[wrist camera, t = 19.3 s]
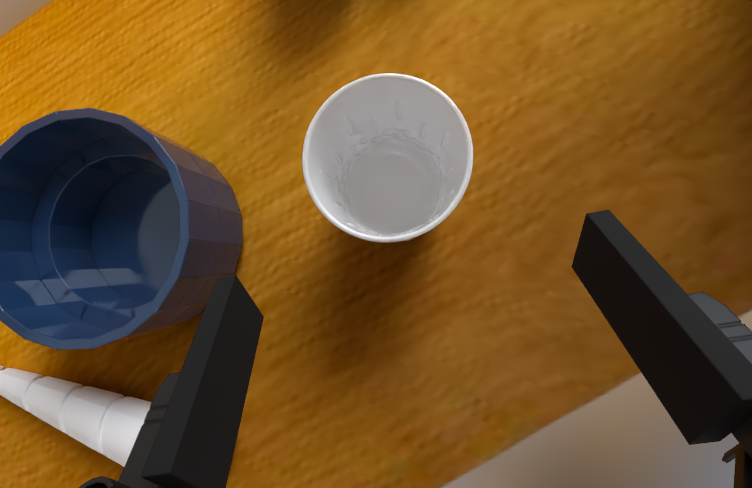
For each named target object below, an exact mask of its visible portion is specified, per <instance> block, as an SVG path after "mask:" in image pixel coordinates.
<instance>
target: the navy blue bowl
mask: <svg viewBox="0 0 752 488" xmlns="http://www.w3.org/2000/svg"><path fill="white" fill-rule="evenodd" d="M241 247H242V217H241V213H240V210H239V207H238V204H237V201H236V199H235V196H234V193H233V190H232V188H231V186H230V185H229V184H228V182H227V181H226V180H225V178H224V177H223V176H222V174H221V173H220V172H219V171H218V169H217V168H216V167H215V166H214V165H213V164H212V163H210V162H209V161H207V160H206V159H204V158H203V157H201V156H200V155H198V154H197V153H195V152H194V151H192V150H190V149H188V148H186V147H184V146H182V145H180V144H178V143H176V142H175V141H173V140H171V139H169V138H167V137H165V136H163V135H161V134H159V133H157V132H155V131H153V130H151V129H149V128H147V127H145V126H143V125H141V124H139V123H137V122H135V121H133V120H131V119H129V118H127V117H125V116H122V115H118V114H114V113H110V112H106V111H102V110H97V109H93V108H85V109H75V110H65V111H57V112H53V113H51V114H49V115H46V116H44V117H42V118H40V119H37V120H35V121H33V122H31V123H28V124H26V125H24V126H23V127H21V128H20V129H19V130H18V131H17V132H16V133H15V134H14V135H12V136H11V137H10V138H9V139H8V140H7V141H6V142H4V143H3V144H2V145H1V146H0V321H2V322H3V323H4V324H5V325H7V326H8V327H9V328H11V329H12V330H13V331H15V332H16V333H17V334H18V335H20V336H21V337H22V338H24V339H26V340H29V341H32V342H35V343H38V344H41V345H44V346H47V347H50V348H53V349H56V350H73V349H95V348H99V347H102V346H106V345H109V344H113V343H116V342H120V341H123V340H127V339H130V338H134V337H137V336H141V335H144V334H148V333H151V332H155V331H158V330H162V329H165V328H169V327H172V326H174V325H177V324H179V323H182V322H184V321H187V320H190V319H192V318H194V317H196V316H198V315H199V314H200V313H201V312H202V311H204V310H205V307H206V304H207V302H208V299H209V297H210V294H211V291H212V289H213V286H214V284H215V281H216V278H219V277H225V276H231V275H234V273H235V269H236V266H237V262H238V258H239V255H240V251H241Z"/></svg>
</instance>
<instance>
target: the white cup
mask: <svg viewBox="0 0 752 488" xmlns="http://www.w3.org/2000/svg"><path fill="white" fill-rule="evenodd" d="M302 166H303V174H304V179H305V183H306V186H307V189H308V191H309V194H310V196H311V198H312V200H313V202H314V203H315V205H316V206H317V208H318V209H319V210H320V212H321V213H322V214H323V215H324V216H325V217H326V218H327V219H328V220H329V221H330V222H331V223H332V224H334V225H335V226H336V227H338V228H339V229H341V230H342V231H344V232H346V233H348V234H350V235H352V236H354V237H357V238H360V239H363V240H367V241H373V242H385V243H397V242H404V241H408V240H411V239H414V238H416V237H418V236H420V235H422V234H424V233H426V232H428V231H430V230H431V229H433V228H434V227H436V226H437V225H439V224H440V223H441V222H442V221H444V220H445V219H446V218H447V217H448V216H449V215H450V214H451V213H452V211H453V210H454V209H455V208H456V206H457V205H458V203H459V202H460V200H461V199H462V197H463V195H464V193H465V191H466V188H467V186H468V183H469V180H470V176H471V172H472V166H473V146H472V140H471V135H470V132H469V129H468V126H467V123H466V121H465V119H464V117H463V115H462V114H461V112H460V110H459V109H458V107H457V106H456V105H455V104H454V102H453V101H452V100H451V99H450V98H449V97H448V96H447V95H446V94H445V93H443V92H442V91H441V90H440V89H438V88H437V87H435V86H434V85H432V84H430V83H428V82H426V81H424V80H422V79H419V78H416V77H413V76H409V75H404V74H396V73H383V74H375V75H370V76H366V77H363V78H360V79H357V80H355V81H353V82H351V83H349V84H347V85H345V86H344V87H342V88H340V89H339V90H338V91H336V92H335V93H334V94H333V95H331V96H330V97H329V98H328V99H327V100H326V101H325V102H324V104H323V105H322V106H321V107H320V108H319V110H318V111H317V113H316V114H315V116H314V118H313V119H312V121H311V123H310V126H309V128H308V131H307V133H306V137H305V141H304V145H303V154H302Z"/></svg>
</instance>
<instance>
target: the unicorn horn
mask: <svg viewBox="0 0 752 488" xmlns="http://www.w3.org/2000/svg"><path fill="white" fill-rule="evenodd" d="M3 368H4V366H0V395H1V396H3V397H4V398H6V399H8V400H9V401H11V402H12V403H14V404H16V405H17V406H19V407H21V408H22V409H24V410H26V411H28V412H30V413H31V414H33V415H34V416H36V417H38V418H39V419H41V420H43V421H44V422H46V423H48V424H50V425H51V426H53V427H55V428H57V429H58V430H60V431H62V432H64V433H66V434H68V435H69V436H70V437H72V438H74V439H76V440H77V441H79V442H81V443H83V444H84V445H86V446H88V447H90V448H92V449H93V450H95V451H97V452H99V453H101V454H103V455H105V456H106V457H108V458H109V459H111V460H113V461H115V462H116V463H118V464H120V465H122V466H123V467H125V464H126V462H127V460H128V457H129V455H130V453H131V450H132V448H133V445H134V443H135V441H136V438H137V436H138V434H139V431H140V429H141V426H142V425H143V424H144V419H145V417H146V414H147V412H148V411H149V410H150V405H151V403H152V402H149V401H145V400H142V399H138V398H134V397H124V395H122V394H119V393H115V392H111V391H107V390H103V389H99V388H95V387H91V386H83V385H82V384H78V383H74V382H70V381H66V380H62V379H58V378H54V377H50V376H45V377H43V375H41V374H37V373H32V372H28V371H23V370H19V369H14V368H7V369H5V370H2V369H3Z"/></svg>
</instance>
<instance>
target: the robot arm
mask: <svg viewBox="0 0 752 488" xmlns="http://www.w3.org/2000/svg"><path fill="white" fill-rule="evenodd" d="M572 268H573V269H574V271H575V273H576V274H577V276H578V277H579V279H580V280H581V282H582V283H583V285H584V286H585V288H586V289H587V291H588V292H589V294H590V295H591V297H592V298H593V300H594V301H595V303H596V304H597V306H598V307H599V309H600V310H601V312H602V313H603V315H604V316H605V318H606V319H607V321H608V322H609V324H610V325H611V327H612V328H613V330H614V332H615V333H616V335H617V336H618V338H619V339H620V341H621V342H622V344H623V345H624V347H625V348H626V350H627V351H628V353H629V354H630V356H631V357H632V359H633V360H634V362H635V363H636V365H637V366H638V368H639V369H640V371H641V372H642V374H643V375H644V377H645V378H646V380H647V381H648V383H649V384H650V386H651V387H652V389H653V390H654V392H655V393H656V395H657V397H658V398H659V399H660V401H661V403H662V404H663V406H664V407H665V409H666V410H667V412H668V413H669V415H670V416H671V418H672V419H673V421H674V422H675V424H676V425H677V427H678V428H679V430H680V431H681V433H682V434H683V436H684V437H685V439H686V440H687V442H688V443H689V445H691V444H699V443H708V442H716V441H721V440H722V439H723V438H725V437H726V436H727V435H729V434H730V433H732V434H733V435H734V437H735V438H736V439H737V441H738V442H739V444H738V445H736V446H735V447H733V448H732V449H730V450H729V451H727V452H726V453H725V454H724V456H723V459H722V461H724V462H726V463H728V462H730V461H731V460H733V459H734V458H736V459H735V474H734V488H752V331H751V330H750V329H749V328H748V327H747V326H746V325H745V324H742V323H741V320H740V319H739V318H738V317H737V316H736V315H735V314H734V313H733V312H732V311H731V310H730V309H729V308H728V307H727V306H726V305H725V304H723V303H721V302H720V301H718V300H716V299H715V298H713V297H711V296H710V295H708V294H706V293H705V292H698V293H692V294H686V292H685V291H684V290H683V289H682V288H681V287H680V286H679V285H678V284H677V283H676V282H675V281H674V280H673V278H672V277H671V276H670V275H669V274H668V273H667V272H666V271H665V270H664V269H663V268H662V267H661V266H660V265H659V263H658V262H657V261H656V260H655V259H654V258H653V257H652V256H651V255H650V254H649V253H648V252H647V251H646V249H645V248H644V247H643V246H642V245H641V244H640V243H639V242H638V241H637V240H636V239H635V238H634V237H633V235H632V234H631V233H630V232H629V231H628V230H627V229H626V228H625V227H624V226H623V225H622V224H621V223H620V221H619V220H618V219H617V218H616V217H615V216H614V215H613V214H612V213H611V212H610V211H609V210H605V211H599V212H593V213H588V214H586V217H585V220H584V224H583V228H582V231H581V235H580V238H579V242H578V246H577V249H576V253H575V257H574V260H573V264H572ZM263 318H264V316H263V315H262V314H261V312H260V311H259V309H258V308H257V306H256V305H255V303H254V302H253V300H252V299H251V297H250V296H249V294H248V293H247V291H246V290H245V288H244V287H243V285H242V284H241V282H240V281H239V279H238V278H237V276H236V275H231V276H225V277H219V278H216V281H215V284H214V286H213V289H212V291H211V294H210V297H209V299H208V302H207V304H206V307H205V310H204V312H203V315H202V318H201V320H200V323H199V325H198V328H197V331H196V333H195V336H194V338H193V341H192V344H191V346H190V349H189V351H188V354H187V357H186V359H185V362H184V364H183V367H182V370H181V372H178V373H172V374H169V375H168V376H167V377H166V378H165V380H164V381H163V382H162V384H161V385H160V386H159V388H158V389H157V391H156V393H155V395H154V398H153V400H152V403H151V405H150V410H149V411H148V412H147V414H146V417H145V419H144V424H143V425H142V426H141V429H140V431H139V434H138V436H137V438H136V441H135V443H134V445H133V448H132V450H131V453H130V455H129V457H128V460H127V462H126V464H125V467H124V469H123V472H122V474H121V476H120V478H119V480H118V482H117V481H115V480H112V479H110V478H106V477H103V476H101V477H97V478H93V479H91V480H89V481H88V482H86V483H84V484H83V485H81V486H80V487H79V488H226V483H227V479H228V474H229V470H230V465H231V461H232V456H233V452H234V448H235V443H236V439H237V434H238V430H239V425H240V421H241V416H242V412H243V407H244V403H245V398H246V394H247V389H248V385H249V380H250V376H251V371H252V367H253V362H254V358H255V353H256V349H257V345H258V340H259V336H260V331H261V327H262V322H263Z"/></svg>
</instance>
